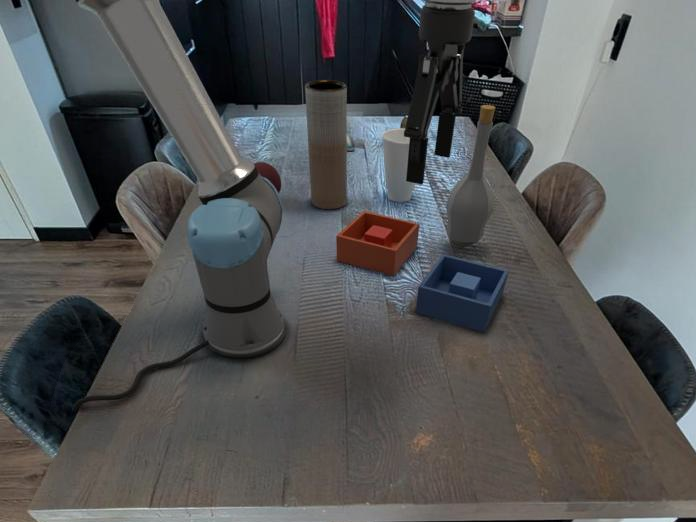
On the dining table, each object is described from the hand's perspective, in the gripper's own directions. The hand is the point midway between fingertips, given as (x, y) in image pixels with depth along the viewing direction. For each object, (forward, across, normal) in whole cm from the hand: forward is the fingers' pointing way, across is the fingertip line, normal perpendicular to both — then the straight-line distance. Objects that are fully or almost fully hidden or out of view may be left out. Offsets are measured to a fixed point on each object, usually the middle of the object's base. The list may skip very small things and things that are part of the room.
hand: (429, 168), depth 81 cm
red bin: (+27, +15, +15) cm, 34 cm away
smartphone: (+27, +79, +58) cm, 102 cm away
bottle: (+27, +28, -2) cm, 39 cm away
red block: (+26, +15, +15) cm, 34 cm away
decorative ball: (+27, +27, +55) cm, 67 cm away
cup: (+27, +48, +23) cm, 60 cm away
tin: (+27, +89, +35) cm, 99 cm away
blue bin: (+27, +4, -9) cm, 28 cm away
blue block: (+26, +4, -9) cm, 28 cm away
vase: (+27, +35, +39) cm, 59 cm away
